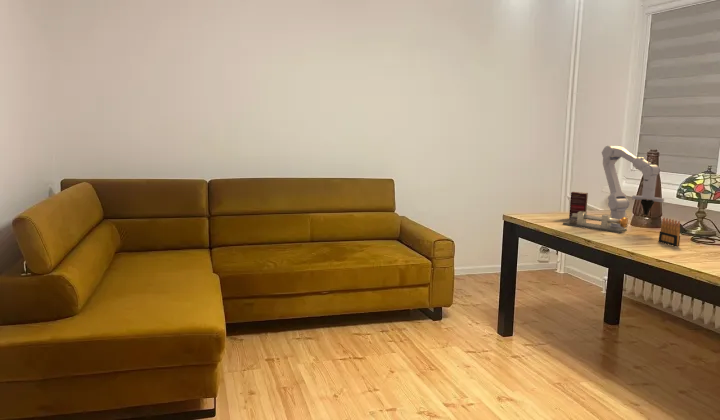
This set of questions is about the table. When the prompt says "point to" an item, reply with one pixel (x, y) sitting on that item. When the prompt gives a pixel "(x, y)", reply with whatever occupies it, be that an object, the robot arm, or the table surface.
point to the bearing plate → (604, 224)
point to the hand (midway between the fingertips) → (646, 214)
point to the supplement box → (577, 203)
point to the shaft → (622, 222)
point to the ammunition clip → (670, 232)
